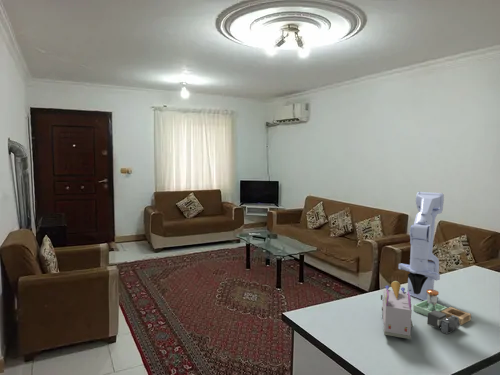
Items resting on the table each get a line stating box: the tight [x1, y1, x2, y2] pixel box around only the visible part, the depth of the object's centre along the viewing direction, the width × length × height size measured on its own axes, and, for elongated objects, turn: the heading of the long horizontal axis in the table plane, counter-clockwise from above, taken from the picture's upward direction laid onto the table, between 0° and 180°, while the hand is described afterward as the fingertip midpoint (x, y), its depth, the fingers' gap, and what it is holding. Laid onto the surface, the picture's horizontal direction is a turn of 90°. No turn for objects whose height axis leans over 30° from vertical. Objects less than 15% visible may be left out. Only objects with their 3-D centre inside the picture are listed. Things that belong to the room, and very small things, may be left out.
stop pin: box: [427, 289, 440, 311], centre depth 128 cm, size 4×4×8 cm
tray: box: [412, 300, 448, 317], centre depth 128 cm, size 8×9×2 cm
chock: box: [426, 310, 446, 329], centre depth 119 cm, size 4×4×4 cm
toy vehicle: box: [380, 280, 414, 340], centre depth 115 cm, size 9×20×15 cm, turn 161°
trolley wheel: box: [440, 315, 461, 335], centre depth 115 cm, size 4×7×4 cm, turn 124°
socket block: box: [441, 306, 472, 326], centre depth 123 cm, size 7×7×2 cm
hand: (417, 293), depth 124 cm, fingers closed
